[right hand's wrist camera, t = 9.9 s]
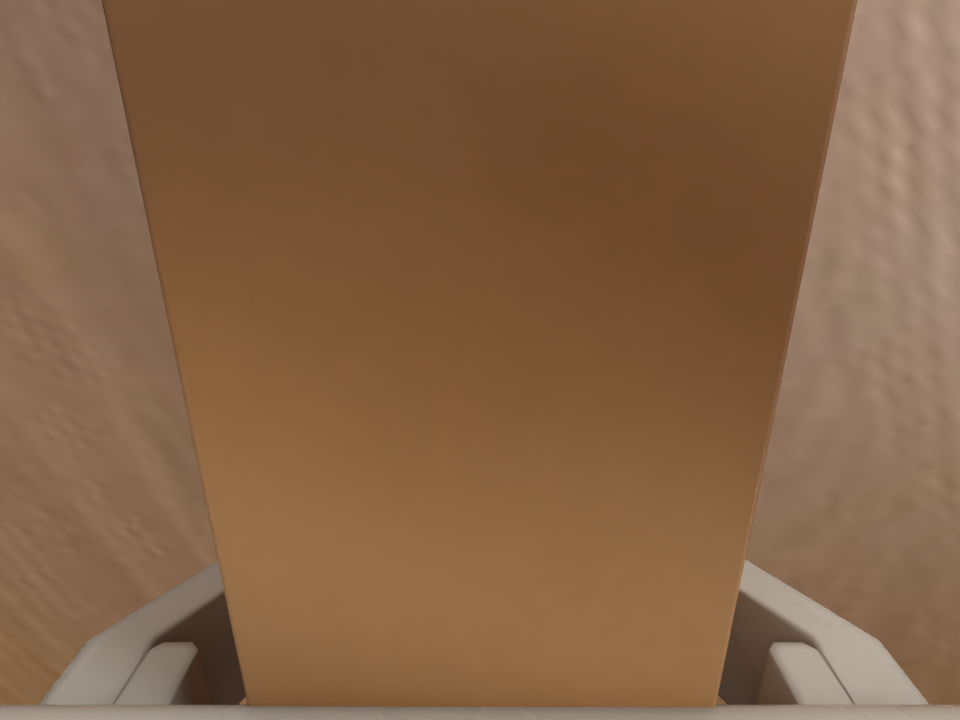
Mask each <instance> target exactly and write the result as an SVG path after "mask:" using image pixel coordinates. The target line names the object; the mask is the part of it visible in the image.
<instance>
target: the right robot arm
mask: <svg viewBox="0 0 960 720" xmlns="http://www.w3.org/2000/svg"><path fill="white" fill-rule="evenodd" d="M718 695H719V696H720V697H721V698H722V699H723V700H724V701H725V702H726V703H727V704H728V705H716V707H378V706H248V705H238V704H239V703H240V702H241V701H242V700H243V699H244V698H245V697H246V694H245V689H244V684H243V679H242V674H241V670H240V665H239V660H238V655H237V650H236V645H235V641H234V636H233V631H232V626H231V621H230V616H229V612H228V607H227V602H226V597H225V592H224V588H223V583H222V578H221V573H220V568H219V563H218V561H217V562H215V563H213V564H212V565H210V566H208V567H207V568H205V569H204V570H202V571H200V572H199V573H197V574H195V575H194V576H192V577H190V578H189V579H187V580H186V581H184V582H182V583H181V584H179V585H177V586H176V587H174V588H172V589H171V590H169V591H167V592H166V593H164V594H163V595H161V596H159V597H158V598H156V599H154V600H153V601H151V602H149V603H148V604H146V605H145V606H143V607H141V608H140V609H138V610H136V611H135V612H133V613H131V614H130V615H128V616H127V617H125V618H123V619H122V620H120V621H118V622H117V623H115V624H113V625H112V626H110V627H108V628H107V629H105V630H104V631H102V632H100V633H99V634H97V635H95V636H94V637H92V638H90V639H89V640H88V641H87V642H86V644H85V645H84V646H83V647H82V649H81V650H80V651H79V653H78V654H77V655H76V657H75V658H74V659H73V660H72V662H71V663H70V664H69V666H68V667H67V668H66V669H65V671H64V672H63V673H62V675H61V676H60V677H59V678H58V680H57V681H56V682H55V684H54V685H53V686H52V687H51V689H50V690H49V691H48V693H47V694H46V695H45V697H44V698H43V699H42V700H41V702H40V703H39V704H38V705H0V720H960V704H928V702H927V701H926V700H925V698H924V697H923V696H922V695H921V693H920V692H919V691H918V689H917V688H916V687H915V686H914V684H913V683H912V682H911V680H910V679H909V678H908V677H907V675H906V674H905V673H904V672H903V670H902V669H901V668H900V666H899V665H898V664H897V663H896V661H895V660H894V659H893V657H892V656H891V655H890V654H889V652H888V651H887V650H886V649H885V647H884V646H883V645H882V643H881V642H880V641H879V640H877V639H876V638H874V637H873V636H871V635H869V634H868V633H866V632H864V631H863V630H861V629H859V628H858V627H856V626H854V625H853V624H851V623H849V622H848V621H846V620H845V619H843V618H841V617H840V616H838V615H836V614H835V613H833V612H831V611H830V610H828V609H826V608H825V607H823V606H821V605H820V604H818V603H816V602H815V601H813V600H812V599H810V598H808V597H807V596H805V595H803V594H802V593H800V592H798V591H797V590H795V589H793V588H792V587H790V586H788V585H787V584H785V583H784V582H782V581H780V580H779V579H777V578H775V577H774V576H772V575H770V574H769V573H767V572H765V571H764V570H762V569H760V568H759V567H757V566H755V565H754V564H752V563H751V562H749V561H747V560H746V559H745V562H744V567H743V572H742V577H741V582H740V587H739V592H738V597H737V602H736V607H735V612H734V617H733V622H732V627H731V632H730V637H729V642H728V647H727V652H726V657H725V662H724V667H723V672H722V677H721V682H720V687H719V692H718Z"/></svg>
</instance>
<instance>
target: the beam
mask: <svg viewBox="0 0 960 720" xmlns="http://www.w3.org/2000/svg"><path fill="white" fill-rule="evenodd" d="M102 4H103V8H104V13H105V18H106V23H107V28H108V33H109V37H110V42H111V47H112V52H113V57H114V61H115V66H116V71H117V76H118V81H119V86H120V90H121V95H122V100H123V105H124V110H125V115H126V119H127V124H128V129H129V134H130V139H131V144H132V148H133V153H134V158H135V163H136V168H137V172H138V177H139V182H140V187H141V192H142V197H143V201H144V206H145V211H146V216H147V221H148V226H149V230H150V235H151V240H152V245H153V250H154V255H155V259H156V264H157V269H158V274H159V279H160V283H161V288H162V293H163V298H164V303H165V308H166V312H167V317H168V322H169V327H170V332H171V337H172V341H173V346H174V351H175V356H176V361H177V366H178V370H179V375H180V380H181V385H182V390H183V394H184V399H185V404H186V409H187V414H188V419H189V423H190V428H191V433H192V438H193V443H194V448H195V452H196V457H197V462H198V467H199V472H200V477H201V481H202V486H203V491H204V496H205V501H206V505H207V510H208V515H209V520H210V525H211V530H212V534H213V539H214V544H215V549H216V554H217V559H218V563H219V568H220V573H221V578H222V583H223V588H224V592H225V597H226V602H227V607H228V612H229V616H230V621H231V626H232V631H233V636H234V641H235V645H236V650H237V655H238V660H239V665H240V670H241V674H242V679H243V684H244V689H245V694H246V699H247V703H248V706H378V707H716V702H717V697H718V692H719V687H720V682H721V677H722V672H723V667H724V662H725V657H726V652H727V647H728V642H729V637H730V632H731V627H732V622H733V617H734V612H735V607H736V602H737V597H738V592H739V587H740V582H741V577H742V572H743V567H744V562H745V557H746V552H747V547H748V542H749V537H750V532H751V527H752V522H753V517H754V512H755V507H756V502H757V497H758V492H759V487H760V482H761V477H762V472H763V467H764V462H765V457H766V452H767V447H768V442H769V437H770V432H771V427H772V423H773V418H774V413H775V408H776V403H777V398H778V393H779V388H780V383H781V378H782V373H783V368H784V363H785V358H786V353H787V348H788V343H789V338H790V333H791V328H792V323H793V318H794V313H795V308H796V303H797V298H798V293H799V288H800V283H801V278H802V273H803V268H804V263H805V258H806V253H807V248H808V243H809V238H810V233H811V228H812V223H813V218H814V213H815V208H816V203H817V198H818V193H819V188H820V183H821V178H822V173H823V168H824V163H825V158H826V153H827V148H828V143H829V138H830V133H831V128H832V123H833V118H834V113H835V108H836V103H837V98H838V94H839V89H840V84H841V79H842V74H843V69H844V64H845V59H846V54H847V49H848V44H849V39H850V34H851V29H852V24H853V19H854V14H855V9H856V4H857V0H102Z"/></svg>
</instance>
